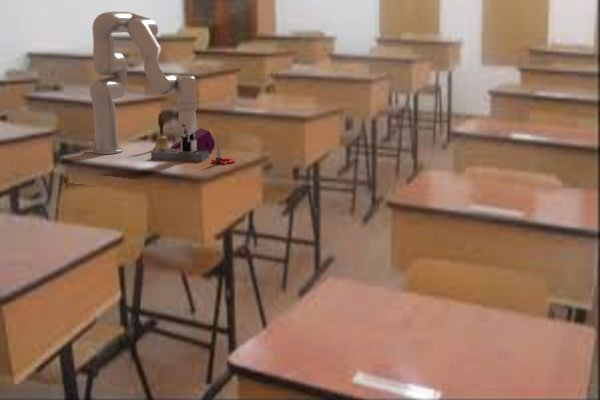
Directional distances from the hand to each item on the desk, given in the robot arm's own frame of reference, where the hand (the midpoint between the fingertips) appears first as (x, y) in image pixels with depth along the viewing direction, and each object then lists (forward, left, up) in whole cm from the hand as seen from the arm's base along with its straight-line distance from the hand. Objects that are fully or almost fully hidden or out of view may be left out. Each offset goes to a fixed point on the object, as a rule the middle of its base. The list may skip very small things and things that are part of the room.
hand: (188, 149), depth 310 cm
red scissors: (+16, -3, -4) cm, 17 cm away
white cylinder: (0, 0, -3) cm, 3 cm away
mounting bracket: (-4, +14, -4) cm, 15 cm away
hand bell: (-19, +18, -4) cm, 26 cm away
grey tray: (-4, 0, -4) cm, 5 cm away
